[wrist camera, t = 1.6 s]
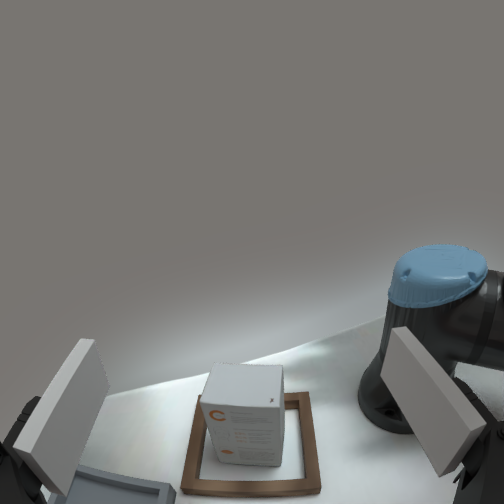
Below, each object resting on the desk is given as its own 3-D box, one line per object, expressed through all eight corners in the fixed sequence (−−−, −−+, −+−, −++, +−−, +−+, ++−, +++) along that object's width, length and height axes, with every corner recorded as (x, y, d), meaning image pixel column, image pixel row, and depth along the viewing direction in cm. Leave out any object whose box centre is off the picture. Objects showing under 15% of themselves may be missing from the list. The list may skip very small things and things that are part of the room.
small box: (285, 429, 38) (284, 363, 33) (281, 467, 32) (281, 407, 27) (226, 426, 39) (212, 361, 34) (217, 462, 33) (198, 402, 28)
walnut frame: (308, 400, 42) (308, 391, 41) (319, 493, 27) (321, 487, 27) (201, 403, 43) (198, 394, 42) (184, 493, 28) (180, 487, 28)
